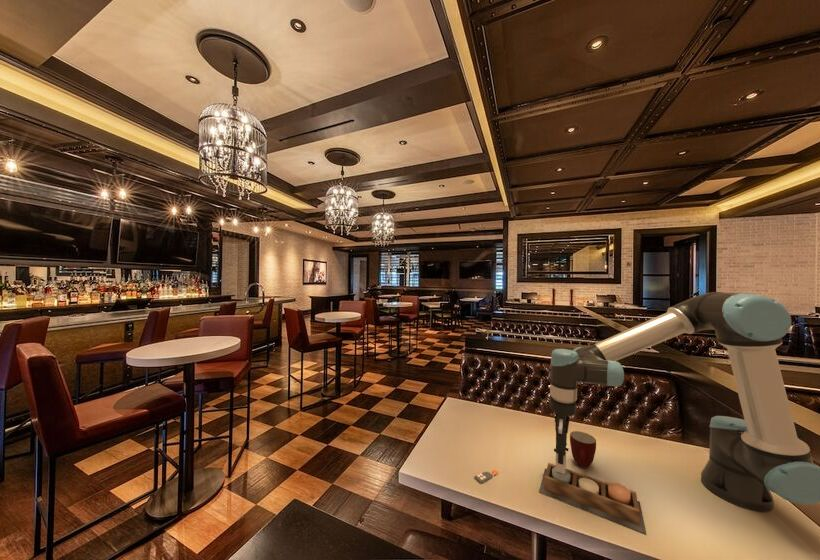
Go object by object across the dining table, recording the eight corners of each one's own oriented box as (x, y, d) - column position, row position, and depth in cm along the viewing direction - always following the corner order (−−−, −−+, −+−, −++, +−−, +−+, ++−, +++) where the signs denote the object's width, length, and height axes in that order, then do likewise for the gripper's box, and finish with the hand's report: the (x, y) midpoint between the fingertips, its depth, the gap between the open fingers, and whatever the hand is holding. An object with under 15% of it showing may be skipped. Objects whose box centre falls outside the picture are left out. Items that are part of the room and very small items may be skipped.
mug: (599, 479, 95) (600, 450, 94) (571, 472, 98) (572, 444, 98) (593, 461, 104) (593, 434, 104) (568, 455, 107) (568, 429, 107)
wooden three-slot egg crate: (639, 502, 85) (640, 489, 85) (646, 535, 74) (646, 520, 74) (545, 469, 99) (545, 457, 99) (538, 492, 88) (539, 479, 88)
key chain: (481, 486, 91) (481, 481, 91) (473, 479, 94) (473, 474, 94) (508, 472, 98) (508, 468, 98) (500, 466, 101) (500, 462, 101)
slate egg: (570, 480, 92) (571, 470, 92) (569, 490, 87) (569, 480, 87) (552, 474, 95) (553, 464, 94) (550, 483, 90) (551, 473, 90)
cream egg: (598, 492, 88) (598, 482, 88) (598, 503, 83) (599, 492, 83) (578, 485, 90) (579, 475, 90) (578, 495, 86) (578, 485, 86)
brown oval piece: (629, 498, 83) (629, 487, 83) (631, 510, 79) (631, 498, 79) (607, 490, 86) (608, 480, 86) (608, 501, 82) (608, 490, 82)
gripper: (552, 389, 98) (550, 456, 98) (547, 402, 87) (544, 478, 88) (577, 394, 94) (575, 464, 94) (575, 409, 83) (572, 489, 83)
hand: (560, 471), depth 91 cm, fingers closed
